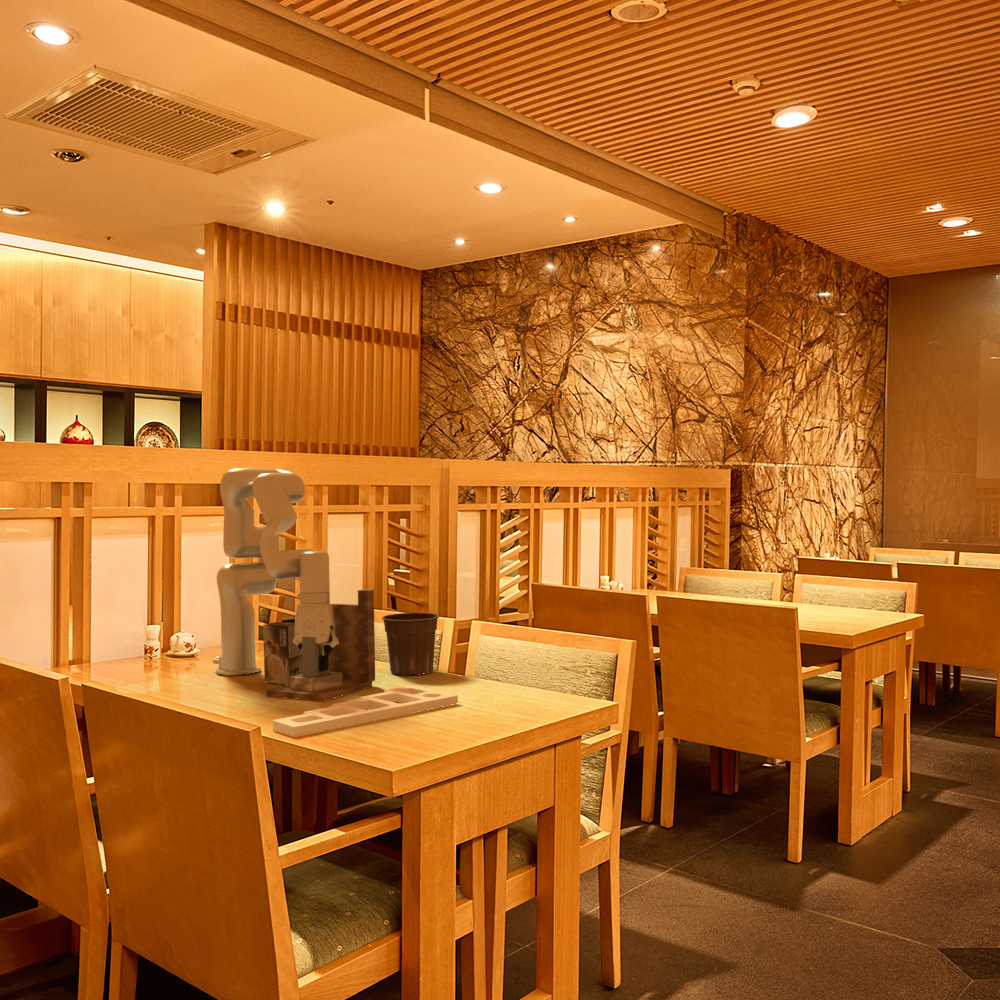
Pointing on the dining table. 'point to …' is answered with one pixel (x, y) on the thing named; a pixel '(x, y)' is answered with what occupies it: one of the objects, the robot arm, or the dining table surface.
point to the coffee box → (281, 653)
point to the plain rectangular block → (311, 658)
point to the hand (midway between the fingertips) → (316, 669)
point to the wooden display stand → (342, 656)
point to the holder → (364, 710)
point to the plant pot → (411, 642)
